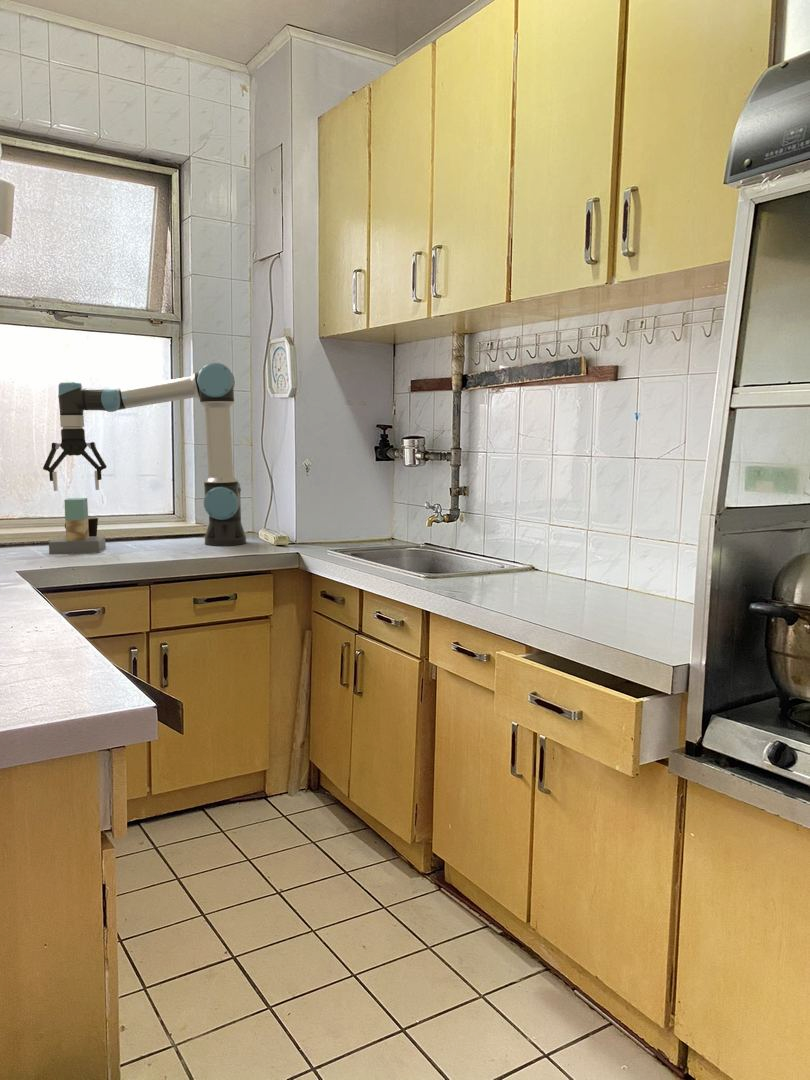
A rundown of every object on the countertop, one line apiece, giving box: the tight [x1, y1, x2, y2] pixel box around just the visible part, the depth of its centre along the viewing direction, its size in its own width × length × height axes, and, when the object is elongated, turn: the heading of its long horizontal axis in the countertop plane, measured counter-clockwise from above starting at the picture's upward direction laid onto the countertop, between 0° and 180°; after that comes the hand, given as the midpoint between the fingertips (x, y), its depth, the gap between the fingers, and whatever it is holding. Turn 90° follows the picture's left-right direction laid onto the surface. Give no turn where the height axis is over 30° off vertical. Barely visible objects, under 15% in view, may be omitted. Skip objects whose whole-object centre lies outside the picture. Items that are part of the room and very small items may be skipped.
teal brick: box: [63, 497, 89, 520], centre depth 285 cm, size 6×8×7 cm
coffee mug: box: [64, 516, 99, 536], centre depth 300 cm, size 12×9×10 cm
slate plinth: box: [48, 535, 107, 555], centre depth 287 cm, size 16×14×4 cm
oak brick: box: [64, 518, 89, 541], centre depth 286 cm, size 6×8×7 cm
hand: (76, 490), depth 284 cm, fingers open, 13 cm apart
